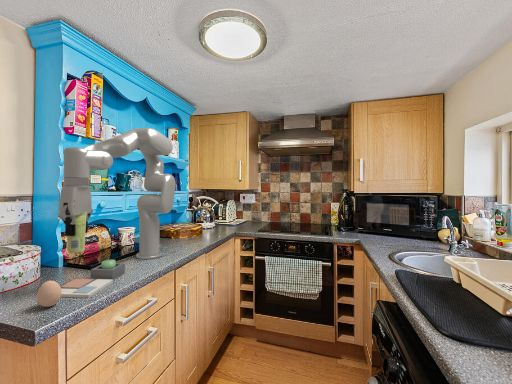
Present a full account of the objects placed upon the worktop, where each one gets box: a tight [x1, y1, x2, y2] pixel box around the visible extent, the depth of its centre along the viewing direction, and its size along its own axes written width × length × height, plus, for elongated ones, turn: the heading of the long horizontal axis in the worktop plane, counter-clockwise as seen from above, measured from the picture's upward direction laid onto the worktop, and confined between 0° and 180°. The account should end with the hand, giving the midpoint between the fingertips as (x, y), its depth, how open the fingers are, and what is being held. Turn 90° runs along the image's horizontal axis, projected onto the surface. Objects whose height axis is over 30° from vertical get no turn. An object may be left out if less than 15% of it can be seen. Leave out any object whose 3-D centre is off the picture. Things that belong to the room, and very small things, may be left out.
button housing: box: [90, 262, 126, 281], centre depth 99 cm, size 8×8×4 cm
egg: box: [36, 280, 62, 308], centre depth 75 cm, size 6×6×8 cm
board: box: [59, 277, 114, 299], centre depth 87 cm, size 13×14×1 cm
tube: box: [66, 212, 87, 254], centre depth 89 cm, size 6×5×20 cm
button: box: [101, 259, 117, 269], centre depth 99 cm, size 5×5×4 cm
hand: (76, 233), depth 89 cm, fingers closed on tube, 5 cm apart
